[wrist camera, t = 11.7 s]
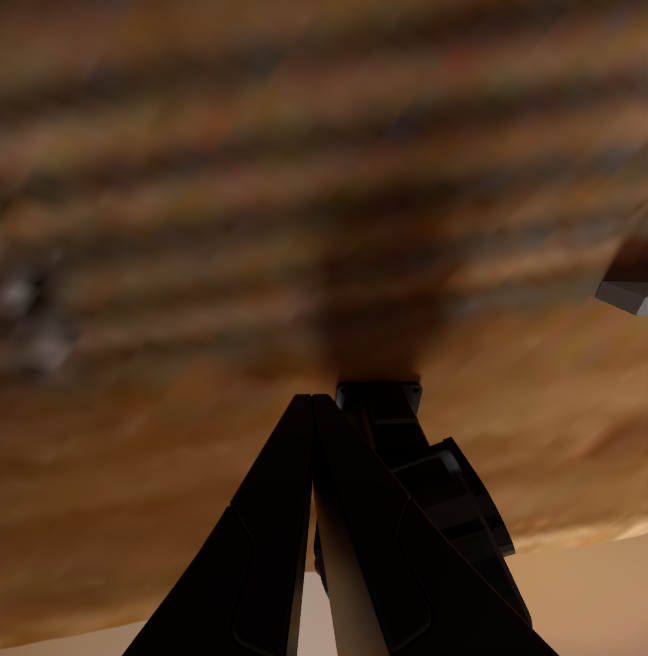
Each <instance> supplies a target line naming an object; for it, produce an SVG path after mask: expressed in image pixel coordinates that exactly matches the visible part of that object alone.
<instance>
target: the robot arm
mask: <svg viewBox="0 0 648 656" xmlns="http://www.w3.org/2000/svg"><path fill="white" fill-rule="evenodd" d="M343 388H346V390H341V389H343ZM414 388H417V389H415V390H413V389H414ZM421 394H422V387H421V385H420V383H418V382H343V383H340V384H339V385H338V386H337V393H336V403H335V402H334V400H333V399H332V398H331V397H330V395H328V394H314V395H313V396H311V395H310V394H296V395H295V396H294V397H293V399H292V400H291V402H290V404H289V405H288V407H287V409H286V410H285V412H284V414H283V415H282V417H281V419H280V420H279V422H278V424H277V425H276V427H275V429H274V430H273V432H272V434H271V435H270V437H269V439H268V440H267V442H266V443H265V445H264V447H263V448H262V450H261V452H260V453H259V455H258V457H257V458H256V460H255V462H254V463H253V465H252V467H251V468H250V470H249V472H248V473H247V475H246V477H245V478H244V480H243V482H242V483H241V485H240V487H239V488H238V490H237V491H236V493H235V495H234V496H233V498H232V500H231V501H230V506H228V507H227V508H226V509H225V511H224V513H223V514H222V516H221V518H220V519H219V521H218V523H217V524H216V526H215V527H214V529H213V530H212V532H211V534H210V535H209V537H208V538H207V540H206V541H205V543H204V544H203V546H202V548H201V549H200V551H199V552H198V554H197V555H196V556H195V558H194V559H193V561H192V562H191V563H190V565H189V566H188V567H187V569H186V570H185V572H184V573H183V574H182V576H181V577H180V579H179V580H178V581H177V583H176V584H175V586H174V587H173V588H172V590H171V591H170V592H169V594H168V595H167V596H166V598H165V599H164V600H163V601H162V603H161V604H160V605H159V607H158V608H157V609H156V611H155V612H154V613H153V615H152V616H151V617H150V619H149V620H148V621H147V623H146V624H145V625H144V627H143V628H142V629H141V631H140V632H139V633H138V635H137V636H136V637H135V639H134V640H133V641H132V643H131V644H130V645H129V647H128V648H127V649H126V651H125V652H124V653H123V655H122V656H297V648H298V637H299V627H300V626H299V625H300V616H301V604H302V593H303V583H304V572H305V561H306V550H307V539H308V528H309V517H310V506H311V494H312V481H313V492H314V500H315V507H316V513H317V522H316V531H315V540H314V554H315V557H316V558H315V562H314V564H315V570H316V572H317V574H319V575H320V576H321V580H322V584H323V586H324V589H325V592H326V594H327V596H328V598H329V600H330V607H331V614H332V620H333V627H334V633H335V641H336V647H337V654H338V656H559V655H558V654H557V653H556V652H555V651H554V650H553V649H552V648H551V647H550V646H549V645H548V644H547V643H546V642H545V641H544V640H543V639H542V638H541V637H540V636H539V635H538V634H537V633H536V632H535V631H534V630H533V629H532V620H531V616H530V614H529V611H528V609H527V607H526V605H525V603H524V600H523V598H522V596H521V594H520V592H519V590H518V588H517V585H516V583H515V581H514V579H513V577H512V575H511V573H510V571H509V568H508V566H507V564H506V562H505V560H504V558H503V557H506V556H509V555H512V554H515V549H514V546H513V543H512V540H511V538H510V535H509V533H508V531H507V529H506V526H505V524H504V522H503V520H502V518H501V516H500V514H499V512H498V510H497V508H496V506H495V504H494V502H493V500H492V499H491V497H490V495H489V493H488V491H487V490H486V488H485V486H484V484H483V483H482V481H481V480H480V478H479V477H478V475H477V474H476V472H475V471H474V469H473V468H472V466H471V465H470V463H469V462H468V460H467V459H466V458H465V456H464V455H463V453H462V452H461V450H460V449H459V447H458V446H457V444H456V443H455V441H454V440H453V438H452V437H449V438H446V439H443V442H440V443H437V444H434V445H432V446H430V445H429V443H428V441H427V439H426V437H425V434H424V432H423V430H422V428H421V426H420V424H419V422H418V418H417V416H416V415H417V411H418V407H419V402H420V398H421Z"/></svg>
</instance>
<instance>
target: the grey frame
mask: <svg viewBox="0 0 648 656" xmlns="http://www.w3.org/2000/svg"><path fill="white" fill-rule="evenodd" d="M595 298H597V299H600V300H602V301H604V302H606V303H609V304H611V305H613V306H616V307H618V308H620V309H622V310H625V311H627V312H629V313H632V314H634V315H646V316H648V282H619V281H602V284H601V286H600V288H599V290H598V292H597V294H596V296H595Z"/></svg>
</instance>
